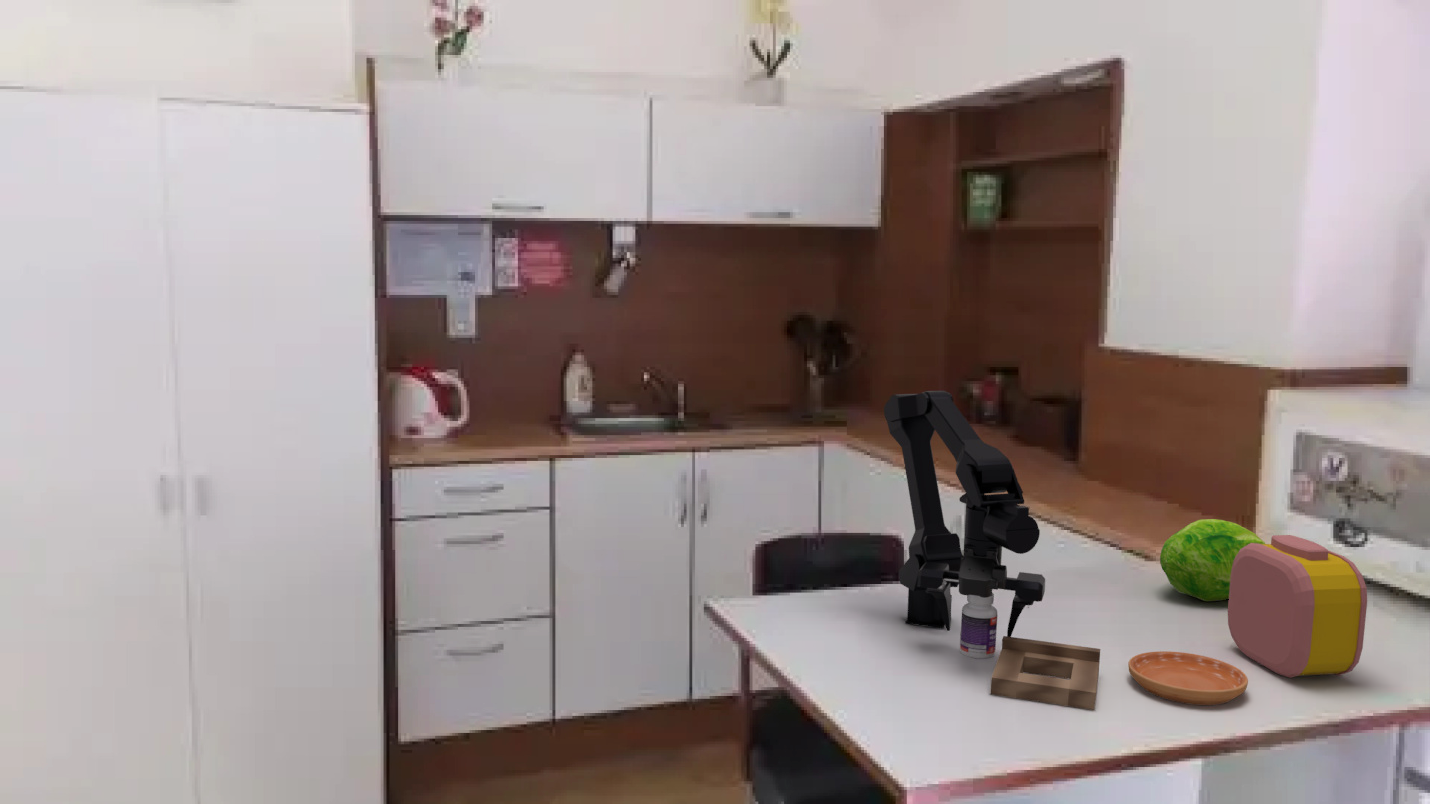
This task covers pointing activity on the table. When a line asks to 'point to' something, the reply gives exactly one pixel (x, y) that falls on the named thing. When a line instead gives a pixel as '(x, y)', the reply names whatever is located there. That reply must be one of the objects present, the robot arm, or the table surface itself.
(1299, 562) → the alarm clock
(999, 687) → the socket
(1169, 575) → the lettuce
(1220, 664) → the saucer
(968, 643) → the pill bottle
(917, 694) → the table surface
